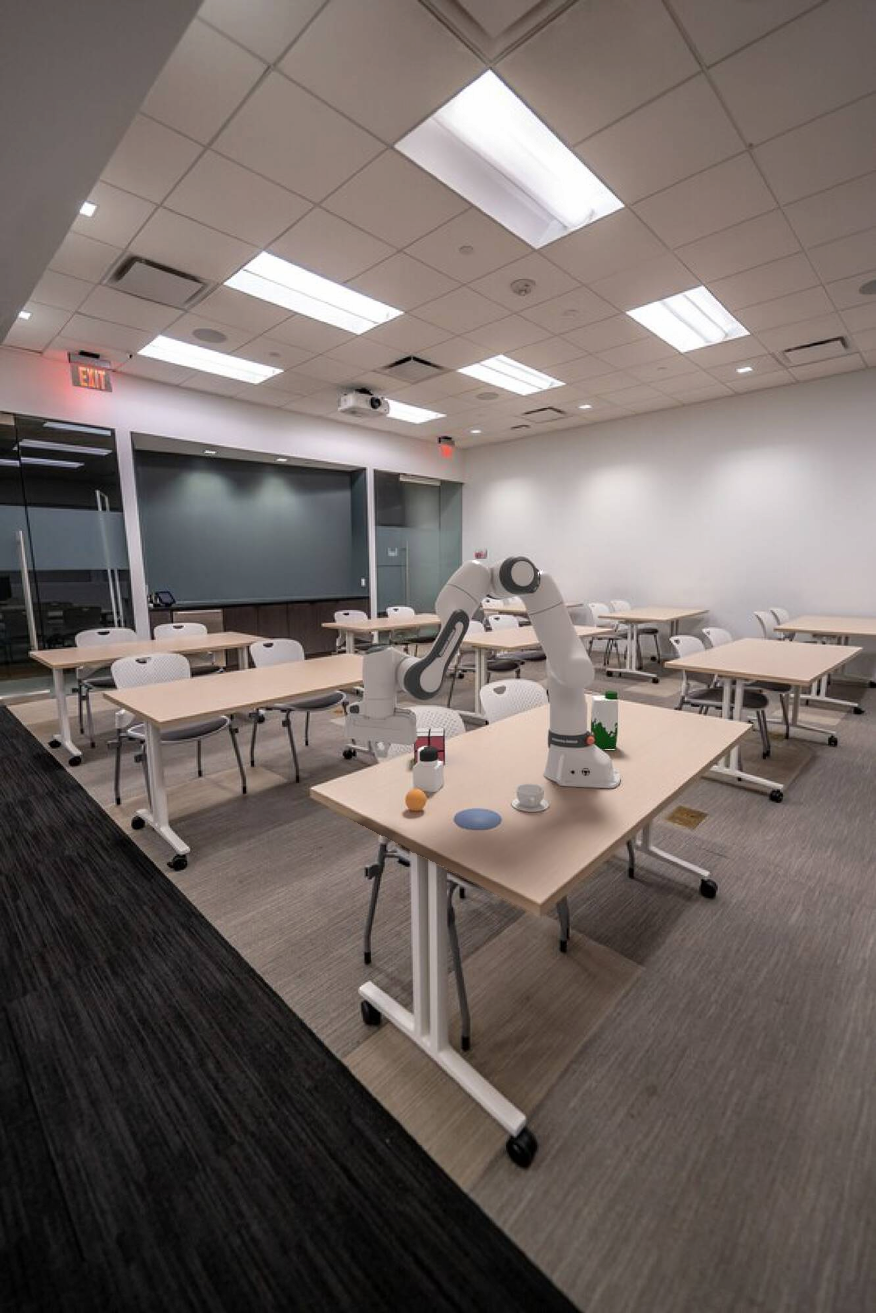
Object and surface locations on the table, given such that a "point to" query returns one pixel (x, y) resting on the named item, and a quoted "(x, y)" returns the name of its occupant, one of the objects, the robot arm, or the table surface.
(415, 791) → the ball
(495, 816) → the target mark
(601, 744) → the milk carton
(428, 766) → the medicine bottle
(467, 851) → the table surface
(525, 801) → the teacup
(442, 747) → the puzzle cube
